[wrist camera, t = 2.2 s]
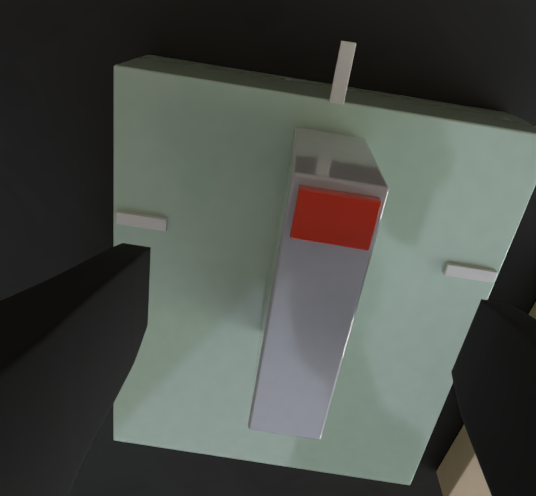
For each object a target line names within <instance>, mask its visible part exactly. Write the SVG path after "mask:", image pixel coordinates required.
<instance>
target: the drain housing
mask: <svg viewBox="0 0 536 496" xmlns="http://www.w3.org/2000/svg"><path fill="white" fill-rule="evenodd" d="M528 315H530V316H531V317H533V318H535V319H536V302H535V304H534V306H533V307H532V309H531V311H530V312H529V314H528ZM436 473H437V476H438V480H439V483H440V486H441V490H442V493H443V496H492V495H491V493H490V490H489V488H488V485H487V483H486V480H485V477H484V475H483V472H482V470H481V467H480V465H479V462H478V459H477V457H476V454H475V452H474V449H473V446H472V444H471V441H470V438H469V436H468V433H467V430H466V428H465V425H463V427H462V428H461V430H460V432H459V434H458V435H457V437H456V439H455V440H454V442H453V444H452V445H451V447H450V449H449V451H448V452H447V454H446V456H445V457H444V459H443V461H442V463H441V464H440V466H439V468H438V469H437V471H436Z"/></svg>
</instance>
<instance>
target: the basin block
mask: <svg viewBox="0 0 536 496" xmlns="http://www.w3.org/2000/svg"><path fill="white" fill-rule="evenodd" d="M355 48H356V43H355V42H349V41H343V40H341V41H340V46H339V51H338V56H337V62H336V67H335V72H334V77H333V82H332V84H328V83H321V82H315V81H309V80H303V79H297V78H290V77H284V76H278V75H272V74H266V73H260V72H253V71H247V70H241V69H235V68H229V67H223V66H216V65H210V64H204V63H198V62H192V61H186V60H179V59H173V58H167V57H161V56H155V55H146V56H143V57H139V58H136V59H133V60H130V61H126V62H123V63H120V64H117V65H114V120H113V247H114V246H116V245H119V244H121V243H126V244H132V245H139V246H145V247H151V253H150V278H149V303H148V326H147V328H146V331H145V334H144V337H143V340H142V343H141V346H140V348H139V351H138V354H137V357H136V359H135V362H134V364H133V366H132V368H131V370H130V372H129V374H128V376H127V378H126V380H125V382H124V384H123V386H122V388H121V390H120V392H119V394H118V396H117V398H116V399H115V401H114V403H113V440H115V441H121V442H128V443H134V444H141V445H148V446H154V447H161V448H167V449H174V450H180V451H187V452H194V453H200V454H207V455H213V456H220V457H227V458H233V459H240V460H246V461H253V462H259V463H266V464H273V465H279V466H286V467H292V468H299V469H305V470H312V471H319V472H325V473H332V474H338V475H345V476H352V477H358V478H365V479H371V480H378V481H384V482H391V483H398V484H404V485H410V484H411V482H412V479H413V477H414V475H415V472H416V470H417V467H418V465H419V463H420V460H421V458H422V455H423V453H424V451H425V448H426V446H427V443H428V441H429V439H430V436H431V434H432V432H433V429H434V427H435V424H436V422H437V420H438V417H439V415H440V412H441V410H442V408H443V405H444V403H445V400H446V398H447V396H448V393H449V391H450V389H451V386H452V384H453V378H452V374H451V371H452V369H453V366H454V364H455V362H456V359H457V357H458V354H459V352H460V350H461V347H462V345H463V342H464V340H465V337H466V335H467V333H468V330H469V328H470V325H471V323H472V320H473V318H474V316H475V313H476V311H477V308H478V306H479V304H480V301H481V299H484V300H488V298H489V295H490V293H491V291H492V288H493V286H494V283H495V281H496V279H497V276H498V274H499V271H500V269H501V267H502V264H503V262H504V259H505V257H506V255H507V252H508V250H509V248H510V245H511V243H512V240H513V238H514V236H515V233H516V231H517V228H518V226H519V224H520V221H521V219H522V216H523V214H524V212H525V209H526V207H527V205H528V202H529V200H530V197H531V195H532V193H533V190H534V188H535V185H536V126H534V125H532V124H530V123H528V122H526V121H524V120H522V119H520V118H518V117H516V116H514V115H512V114H510V113H506V112H500V111H494V110H488V109H482V108H476V107H469V106H463V105H457V104H451V103H445V102H439V101H432V100H426V99H420V98H414V97H408V96H402V95H395V94H389V93H383V92H377V91H371V90H365V89H358V88H352V87H347V86H348V81H349V77H350V72H351V67H352V62H353V58H354V53H355ZM296 127H300V128H306V129H312V130H319V131H325V132H331V133H337V134H343V135H350V136H356V137H362V138H364V139H365V140H366V142H367V144H368V146H369V148H370V150H371V152H372V154H373V156H374V158H375V160H376V162H377V164H378V166H379V168H380V170H381V172H382V174H383V176H384V179H385V181H386V183H387V185H388V187H389V194H388V198H387V201H386V205H385V209H384V212H383V216H382V220H381V223H380V227H379V230H378V234H377V238H376V241H375V245H374V249H373V252H372V256H371V259H370V263H369V267H368V270H367V274H366V278H365V281H364V285H363V289H362V292H361V296H360V299H359V303H358V307H357V310H356V314H355V318H354V321H353V325H352V328H351V332H350V336H349V339H348V343H347V347H346V350H345V354H344V358H343V361H342V365H341V368H340V372H339V376H338V379H337V383H336V387H335V390H334V394H333V397H332V401H331V405H330V408H329V412H328V416H327V419H326V423H325V427H324V430H323V434H322V437H321V439H319V440H317V439H310V438H304V437H297V436H290V435H284V434H277V433H271V432H264V431H258V430H251V429H249V428H248V421H249V412H250V404H251V396H252V388H253V380H254V372H255V364H256V356H257V348H258V340H259V333H260V327H261V321H262V315H263V309H264V303H265V297H266V291H267V286H268V280H269V274H270V268H271V262H272V256H273V250H274V244H275V239H276V233H277V227H278V221H279V215H280V209H281V203H282V197H283V192H284V186H285V180H286V174H287V168H288V162H289V156H290V150H291V144H292V139H293V133H294V129H295V128H296Z"/></svg>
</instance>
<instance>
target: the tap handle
mask: <svg viewBox="0 0 536 496" xmlns="http://www.w3.org/2000/svg"><path fill="white" fill-rule="evenodd" d="M388 194H389V187H388V185H387V183H386V181H385V179H384V176H383V174H382V172H381V170H380V168H379V166H378V164H377V162H376V160H375V158H374V156H373V154H372V152H371V150H370V148H369V146H368V144H367V142H366V140H365V139H364V138H362V137H356V136H350V135H343V134H337V133H331V132H325V131H319V130H312V129H306V128H300V127H296V128H295V129H294V133H293V139H292V144H291V150H290V156H289V162H288V168H287V174H286V180H285V186H284V192H283V197H282V203H281V209H280V215H279V221H278V227H277V233H276V239H275V244H274V250H273V256H272V262H271V268H270V274H269V280H268V286H267V291H266V297H265V303H264V309H263V315H262V321H261V327H260V333H259V340H258V348H257V356H256V364H255V372H254V380H253V388H252V396H251V404H250V412H249V421H248V428H249V429H251V430H258V431H264V432H271V433H277V434H284V435H290V436H297V437H304V438H310V439H317V440H319V439H321V437H322V434H323V430H324V427H325V423H326V419H327V416H328V412H329V408H330V405H331V401H332V397H333V394H334V390H335V387H336V383H337V379H338V376H339V372H340V368H341V365H342V361H343V358H344V354H345V350H346V347H347V343H348V339H349V336H350V332H351V328H352V325H353V321H354V318H355V314H356V310H357V307H358V303H359V299H360V296H361V292H362V289H363V285H364V281H365V278H366V274H367V270H368V267H369V263H370V259H371V256H372V252H373V249H374V245H375V241H376V238H377V234H378V230H379V227H380V223H381V220H382V216H383V212H384V209H385V205H386V201H387V198H388Z"/></svg>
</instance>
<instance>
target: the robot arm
mask: <svg viewBox="0 0 536 496" xmlns="http://www.w3.org/2000/svg"><path fill="white" fill-rule="evenodd" d="M150 253H151V247H145V246H139V245H132V244H126V243H121V244H119V245H116V246H114V247H112V248H110V249H108V250H106V251H104V252H102V253H100V254H98V255H96V256H94V257H92V258H91V259H89V260H87V261H85V262H83V263H81V264H79V265H77V266H75V267H73V268H71V269H69V270H67V271H65V272H63V273H61V274H59V275H57V276H55V277H53V278H51V279H49V280H46V281H44V282H42V283H40V284H38V285H35V286H33V287H31V288H29V289H26V290H24V291H22V292H20V293H18V294H15V295H13V296H11V297H9V298H6V299H4V300H1V301H0V496H69V494H70V492H71V489H72V487H73V484H74V482H75V479H76V477H77V474H78V472H79V470H80V468H81V466H82V464H83V462H84V459H85V457H86V455H87V453H88V451H89V449H90V447H91V445H92V443H93V441H94V440H95V438H96V436H97V434H98V432H99V430H100V428H101V426H102V424H103V422H104V420H105V419H106V417H107V415H108V413H109V411H110V409H111V407H112V405H113V403H114V401H115V399H116V398H117V396H118V394H119V392H120V390H121V388H122V386H123V384H124V382H125V380H126V378H127V376H128V374H129V372H130V370H131V368H132V366H133V364H134V362H135V359H136V357H137V354H138V351H139V348H140V346H141V343H142V340H143V337H144V334H145V331H146V328H147V326H148V303H149V278H150ZM451 374H452V378H453V383H454V388H455V393H456V398H457V402H458V406H459V410H460V414H461V417H462V420H463V422H464V425H465V428H466V430H467V433H468V436H469V438H470V441H471V444H472V446H473V449H474V452H475V454H476V457H477V459H478V462H479V465H480V467H481V470H482V472H483V475H484V477H485V480H486V483H487V485H488V488H489V490H490V493H491V495H492V496H536V319H535V318H533V317H531V316H530V315H528V314H527V313H525V312H524V311H522V310H520V309H519V308H517V307H515V306H513V305H511V304H509V303H503V302H496V301H490V300H484V299H481V301H480V304H479V306H478V308H477V311H476V313H475V316H474V318H473V320H472V323H471V325H470V328H469V330H468V333H467V335H466V337H465V340H464V342H463V345H462V347H461V350H460V352H459V354H458V357H457V359H456V362H455V364H454V366H453V369H452V371H451Z"/></svg>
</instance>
